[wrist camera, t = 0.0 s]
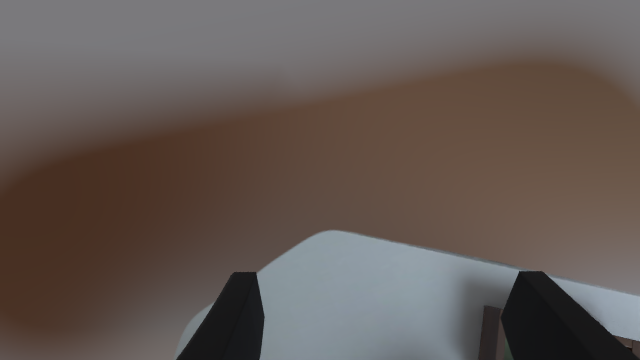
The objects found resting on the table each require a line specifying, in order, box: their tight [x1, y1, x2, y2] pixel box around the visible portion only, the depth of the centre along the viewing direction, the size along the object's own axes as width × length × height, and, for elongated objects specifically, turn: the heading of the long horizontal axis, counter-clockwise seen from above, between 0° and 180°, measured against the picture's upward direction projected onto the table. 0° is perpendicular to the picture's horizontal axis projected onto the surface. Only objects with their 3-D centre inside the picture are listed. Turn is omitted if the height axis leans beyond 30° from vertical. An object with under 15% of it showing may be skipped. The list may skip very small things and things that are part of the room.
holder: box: [479, 306, 640, 360], centre depth 37 cm, size 13×7×4 cm, turn 77°
